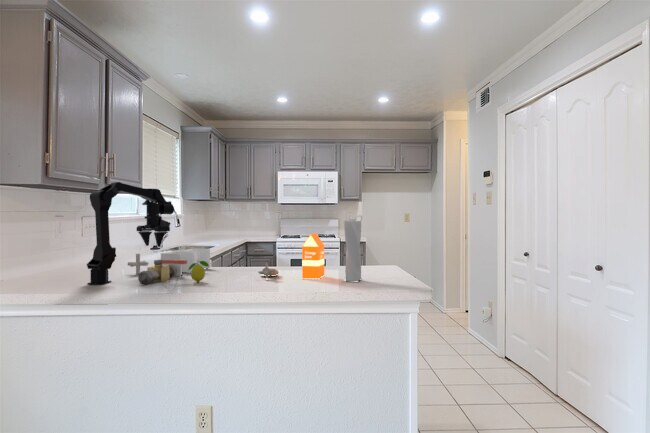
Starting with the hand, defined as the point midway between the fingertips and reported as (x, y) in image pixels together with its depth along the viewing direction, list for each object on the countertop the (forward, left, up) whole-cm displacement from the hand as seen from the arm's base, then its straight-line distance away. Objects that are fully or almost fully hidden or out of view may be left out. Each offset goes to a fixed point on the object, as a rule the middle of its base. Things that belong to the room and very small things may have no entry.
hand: (153, 246), depth 175 cm
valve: (-6, -60, -15) cm, 62 cm away
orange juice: (-6, -81, -14) cm, 82 cm away
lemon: (-19, -33, -14) cm, 41 cm away
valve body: (-16, -13, -14) cm, 25 cm away
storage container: (+9, -13, -15) cm, 21 cm away
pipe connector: (+2, +9, -14) cm, 17 cm away
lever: (-16, -18, -7) cm, 25 cm away
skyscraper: (-12, -99, -14) cm, 100 cm away
